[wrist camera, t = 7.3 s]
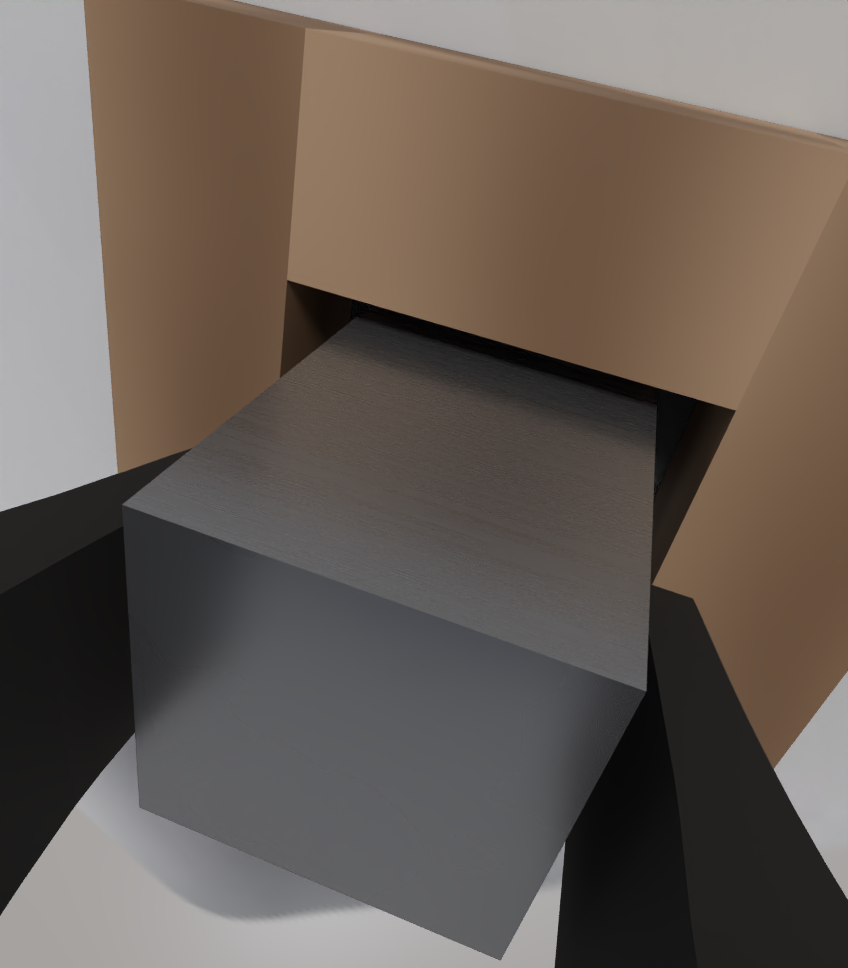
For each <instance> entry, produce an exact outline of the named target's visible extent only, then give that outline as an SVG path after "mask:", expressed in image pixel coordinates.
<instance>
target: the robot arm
mask: <svg viewBox="0 0 848 968" xmlns="http://www.w3.org/2000/svg"><path fill="white" fill-rule="evenodd" d="M191 449H192V448H191ZM191 449H188V450H185V451H182V452H179V453H176V454H173V455H170V456H167V457H164V458H161V459H158V460H155V461H153V462H150V463H147V464H144V465H141V466H138V467H136V468H133V469H130V470H127V471H124V472H121V473H118V474H115V475H113V476H110V477H107V478H104V479H101V480H98V481H95V482H92V483H89V484H86V485H83V486H81V487H78V488H75V489H72V490H69V491H66V492H63V493H60V494H57V495H54V496H51V497H47V498H44V499H41V500H38V501H34V502H31V503H28V504H24V505H21V506H18V507H15V508H11V509H8V510H5V511H1V512H0V915H1V914H2V912H3V910H4V909H5V908H6V906H7V904H8V903H9V901H10V900H11V898H12V897H13V895H14V894H15V892H16V891H17V889H18V888H19V886H20V885H21V883H22V882H23V880H24V879H25V877H26V876H27V875H28V873H29V872H30V870H31V869H32V867H33V866H34V864H35V863H36V862H37V860H38V859H39V857H40V856H41V854H42V853H43V851H44V850H45V849H46V847H47V846H48V844H49V843H50V841H51V840H52V838H53V837H54V836H55V834H56V833H57V831H58V830H59V828H60V827H61V825H62V824H63V822H64V821H65V820H66V818H67V817H68V815H69V814H70V812H71V811H72V810H73V808H74V807H75V805H76V804H77V803H78V801H79V800H80V799H81V798H82V796H83V795H84V794H85V792H86V791H87V790H88V789H89V787H90V786H91V785H92V783H93V782H94V781H95V780H96V778H97V777H98V776H99V774H100V773H101V772H102V771H103V769H104V768H105V767H106V766H107V765H108V764H109V762H110V761H111V760H112V759H113V758H114V756H115V755H116V754H117V753H118V752H119V750H120V749H121V748H122V747H123V746H124V744H125V743H126V742H127V741H128V740H129V739H130V737H131V736H132V735H133V734H134V733H135V719H134V702H133V685H132V667H131V650H130V633H129V615H128V598H127V581H126V563H125V546H124V529H123V511H122V504H123V503H125V502H126V501H127V500H128V499H130V498H131V497H132V496H133V495H135V494H136V493H137V492H138V491H140V490H141V489H142V488H143V487H145V486H146V485H147V484H148V483H150V482H151V481H152V480H153V479H155V478H156V477H157V476H158V475H160V474H161V473H162V472H163V471H165V470H166V469H167V468H168V467H170V466H171V465H172V464H173V463H175V462H176V461H177V460H178V459H180V458H181V457H182V456H183V455H185V454H186V453H187V452H188V451H190V450H191ZM556 948H557V949H556V958H555V968H848V899H847V898H846V897H845V895H844V893H843V891H842V890H841V888H840V886H839V885H838V883H837V882H836V880H835V878H834V877H833V875H832V873H831V872H830V870H829V868H828V867H827V865H826V863H825V862H824V860H823V858H822V856H821V855H820V853H819V851H818V849H817V848H816V846H815V844H814V842H813V840H812V839H811V837H810V835H809V833H808V832H807V830H806V828H805V826H804V825H803V823H802V821H801V819H800V818H799V816H798V814H797V812H796V811H795V809H794V807H793V805H792V803H791V801H790V800H789V798H788V796H787V794H786V792H785V790H784V788H783V786H782V785H781V783H780V781H779V779H778V777H777V775H776V773H775V771H774V769H773V767H772V765H771V763H770V761H769V759H768V757H767V755H766V753H765V751H764V749H763V747H762V745H761V743H760V741H759V739H758V737H757V735H756V733H755V731H754V729H753V727H752V725H751V723H750V721H749V719H748V717H747V715H746V713H745V711H744V709H743V707H742V705H741V703H740V701H739V698H738V696H737V694H736V692H735V690H734V688H733V685H732V683H731V681H730V679H729V677H728V675H727V672H726V670H725V668H724V666H723V664H722V661H721V659H720V657H719V655H718V652H717V650H716V648H715V646H714V643H713V641H712V639H711V637H710V634H709V632H708V630H707V627H706V625H705V623H704V621H703V618H702V616H701V614H700V612H699V610H698V608H697V606H696V604H695V601H694V599H693V598H690V597H687V596H684V595H681V594H678V593H675V592H672V591H669V590H666V589H663V588H660V587H657V586H654V585H651V584H650V606H649V633H648V660H647V687H646V693H645V695H644V697H643V699H642V700H641V702H640V704H639V706H638V708H637V710H636V711H635V713H634V715H633V717H632V719H631V721H630V723H629V724H628V726H627V728H626V730H625V732H624V734H623V735H622V737H621V739H620V741H619V743H618V745H617V747H616V748H615V750H614V752H613V754H612V756H611V758H610V759H609V761H608V763H607V765H606V767H605V769H604V770H603V772H602V774H601V776H600V778H599V780H598V782H597V783H596V785H595V787H594V789H593V791H592V793H591V794H590V796H589V798H588V800H587V802H586V804H585V806H584V807H583V809H582V811H581V813H580V815H579V817H578V818H577V820H576V822H575V824H574V826H573V828H572V830H571V831H570V833H569V835H568V837H567V839H566V841H565V853H564V865H563V876H562V888H561V900H560V912H559V923H558V935H557V947H556Z"/></svg>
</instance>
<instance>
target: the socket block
mask: <svg viewBox="0 0 848 968" xmlns="http://www.w3.org/2000/svg"><path fill="white" fill-rule="evenodd" d="M84 9H85V23H86V37H87V51H88V65H89V78H90V92H91V106H92V120H93V134H94V148H95V162H96V175H97V189H98V203H99V217H100V231H101V245H102V259H103V272H104V286H105V300H106V314H107V328H108V342H109V356H110V369H111V383H112V397H113V411H114V425H115V439H116V453H117V466H118V473H121V472H124V471H127V470H130V469H133V468H136V467H138V466H141V465H144V464H147V463H150V462H153V461H155V460H158V459H161V458H164V457H167V456H170V455H173V454H176V453H179V452H182V451H185V450H188V449H191V448H193V447H195V446H196V445H197V444H198V443H200V442H201V441H202V440H203V439H205V438H206V437H207V436H208V435H210V434H211V433H212V432H213V431H215V430H216V429H217V428H218V427H220V426H221V425H222V424H223V423H225V422H226V421H227V420H228V419H230V418H231V417H232V416H233V415H235V414H236V413H237V412H238V411H240V410H241V409H242V408H243V407H245V406H246V405H247V404H248V403H250V402H251V401H252V400H253V399H255V398H256V397H257V396H258V395H260V394H261V393H262V392H263V391H265V390H266V389H267V388H268V387H270V386H271V385H272V384H273V383H275V382H276V381H277V380H278V379H280V378H281V377H282V376H283V375H285V374H286V373H287V372H288V371H290V370H291V369H292V368H293V367H295V366H296V365H297V364H298V363H300V362H301V361H302V360H303V359H305V358H306V357H307V356H308V355H310V354H311V353H312V352H313V351H315V350H316V349H317V348H318V347H320V346H321V345H322V344H323V343H325V342H326V341H327V340H328V339H330V338H331V337H332V336H333V335H335V334H336V333H337V332H338V331H340V330H341V329H342V328H343V327H345V326H346V325H347V324H348V323H350V317H351V309H352V301H353V299H354V300H358V301H361V302H365V303H368V304H371V305H375V306H378V307H382V308H385V309H389V310H392V311H396V312H399V313H402V314H406V315H409V316H413V317H416V318H420V319H423V320H426V321H430V322H433V323H437V324H440V325H444V326H447V327H451V328H454V329H457V330H461V331H464V332H468V333H471V334H475V335H478V336H481V337H485V338H488V339H492V340H495V341H499V342H502V343H506V344H509V345H512V346H516V347H519V348H523V349H526V350H530V351H533V352H536V353H540V354H543V355H547V356H550V357H554V358H557V359H561V360H564V361H567V362H571V363H574V364H578V365H581V366H585V367H588V368H591V369H595V370H598V371H602V372H605V373H609V374H612V375H616V376H619V377H622V378H626V379H629V380H633V381H636V382H640V383H643V384H646V385H650V386H653V387H657V388H660V389H664V390H667V391H670V392H674V393H677V394H681V395H684V396H688V397H691V398H695V399H698V400H697V403H696V405H695V407H694V410H693V412H692V414H691V416H690V419H689V421H688V423H687V425H686V428H685V430H684V432H683V434H682V437H681V439H680V441H679V443H678V446H677V448H676V450H675V452H674V455H673V457H672V459H671V461H670V464H669V466H668V468H667V470H666V473H665V475H664V477H663V479H662V482H661V484H660V486H659V488H658V491H657V493H656V495H655V497H654V500H653V525H652V552H651V579H650V584H651V585H654V586H657V587H660V588H663V589H666V590H669V591H672V592H675V593H678V594H681V595H684V596H687V597H690V598H693V599H694V601H695V604H696V606H697V608H698V610H699V612H700V614H701V616H702V618H703V621H704V623H705V625H706V627H707V630H708V632H709V634H710V637H711V639H712V641H713V643H714V646H715V648H716V650H717V652H718V655H719V657H720V659H721V661H722V664H723V666H724V668H725V670H726V672H727V675H728V677H729V679H730V681H731V683H732V685H733V688H734V690H735V692H736V694H737V696H738V698H739V701H740V703H741V705H742V707H743V709H744V711H745V713H746V715H747V717H748V719H749V721H750V723H751V725H752V727H753V729H754V731H755V733H756V735H757V737H758V739H759V741H760V743H761V745H762V747H763V749H764V751H765V753H766V755H767V757H768V759H769V761H770V763H771V765H772V767H773V769H774V768H775V766H776V765H777V764H778V762H779V761H780V760H781V758H782V757H783V756H784V754H785V753H786V752H787V750H788V749H789V748H790V746H791V745H792V744H793V742H794V741H795V740H796V738H797V737H798V736H799V734H800V733H801V732H802V731H803V729H804V728H805V727H806V725H807V724H808V723H809V721H810V720H811V719H812V717H813V716H814V715H815V713H816V712H817V711H818V709H819V708H820V707H821V705H822V704H823V703H824V701H825V700H826V699H827V697H828V696H829V695H830V693H831V692H832V691H833V690H834V688H835V687H836V686H837V684H838V683H839V682H840V680H841V679H842V678H843V676H844V675H845V674H846V672H847V671H848V140H845V139H840V138H836V137H831V136H827V135H823V134H818V133H814V132H809V131H805V130H801V129H796V128H792V127H787V126H783V125H779V124H774V123H770V122H765V121H761V120H757V119H752V118H748V117H744V116H739V115H735V114H730V113H726V112H722V111H717V110H713V109H708V108H704V107H700V106H695V105H691V104H686V103H682V102H678V101H673V100H669V99H664V98H660V97H656V96H651V95H647V94H642V93H638V92H634V91H629V90H625V89H620V88H616V87H612V86H607V85H603V84H598V83H594V82H590V81H585V80H581V79H576V78H572V77H568V76H563V75H559V74H554V73H550V72H546V71H541V70H537V69H532V68H528V67H524V66H519V65H515V64H510V63H506V62H502V61H497V60H493V59H488V58H484V57H480V56H475V55H471V54H466V53H462V52H458V51H453V50H449V49H444V48H440V47H436V46H431V45H427V44H422V43H418V42H414V41H409V40H405V39H400V38H396V37H392V36H387V35H383V34H378V33H374V32H370V31H365V30H361V29H356V28H352V27H348V26H343V25H339V24H334V23H330V22H326V21H321V20H317V19H312V18H308V17H304V16H299V15H295V14H291V13H286V12H282V11H277V10H273V9H269V8H264V7H260V6H255V5H251V4H247V3H242V2H238V1H233V0H84Z"/></svg>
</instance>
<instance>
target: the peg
mask: <svg viewBox="0 0 848 968" xmlns="http://www.w3.org/2000/svg"><path fill="white" fill-rule="evenodd" d="M657 390H658V388H657V387H653V386H650V385H646V384H643V383H640V382H636V381H633V380H629V379H626V378H622V377H619V376H616V375H612V374H609V373H605V372H602V371H598V370H595V369H591V368H588V367H585V366H581V365H578V364H574V363H571V362H567V361H564V360H561V359H557V358H554V357H550V356H547V355H543V354H540V353H536V352H533V351H530V350H526V349H523V348H519V347H516V346H512V345H509V344H506V343H502V342H499V341H495V340H492V339H488V338H485V337H481V336H478V335H475V334H471V333H468V332H464V331H461V330H457V329H454V328H451V327H447V326H444V325H440V324H437V323H433V322H430V321H426V320H423V319H420V318H416V317H413V316H409V315H406V314H402V313H399V312H396V311H392V310H389V309H385V308H382V307H378V306H375V305H371V306H370V307H368V308H367V309H366V310H365V311H363V312H362V313H361V314H360V315H358V316H357V317H356V318H355V319H353V320H352V321H351V322H350V323H348V324H347V325H346V326H345V327H343V328H342V329H341V330H340V331H338V332H337V333H336V334H335V335H333V336H332V337H331V338H330V339H328V340H327V341H326V342H325V343H323V344H322V345H321V346H320V347H318V348H317V349H316V350H315V351H313V352H312V353H311V354H310V355H308V356H307V357H306V358H305V359H303V360H302V361H301V362H300V363H298V364H297V365H296V366H295V367H293V368H292V369H291V370H290V371H288V372H287V373H286V374H285V375H283V376H282V377H281V378H280V379H278V380H277V381H276V382H275V383H273V384H272V385H271V386H270V387H268V388H267V389H266V390H265V391H263V392H262V393H261V394H260V395H258V396H257V397H256V398H255V399H253V400H252V401H251V402H250V403H248V404H247V405H246V406H245V407H243V408H242V409H241V410H240V411H238V412H237V413H236V414H235V415H233V416H232V417H231V418H230V419H228V420H227V421H226V422H225V423H223V424H222V425H221V426H220V427H218V428H217V429H216V430H215V431H213V432H212V433H211V434H210V435H208V436H207V437H206V438H205V439H203V440H202V441H201V442H200V443H198V444H197V445H196V446H195V447H193V448H192V449H191V450H190V451H188V452H187V453H186V454H185V455H183V456H182V457H181V458H180V459H178V460H177V461H176V462H175V463H173V464H172V465H171V466H170V467H168V468H167V469H166V470H165V471H163V472H162V473H161V474H160V475H158V476H157V477H156V478H155V479H153V480H152V481H151V482H150V483H148V484H147V485H146V486H145V487H143V488H142V489H141V490H140V491H138V492H137V493H136V494H135V495H133V496H132V497H131V498H130V499H128V500H127V501H126V502H125V503H123V504H122V511H123V529H124V546H125V563H126V581H127V598H128V615H129V633H130V650H131V667H132V685H133V702H134V719H135V737H136V754H137V771H138V789H139V806H140V808H142V809H145V810H147V811H149V812H152V813H154V814H156V815H159V816H161V817H164V818H166V819H168V820H171V821H173V822H175V823H178V824H180V825H182V826H185V827H187V828H189V829H192V830H194V831H197V832H199V833H201V834H204V835H206V836H208V837H211V838H213V839H215V840H218V841H220V842H222V843H225V844H227V845H229V846H232V847H234V848H237V849H239V850H241V851H244V852H246V853H248V854H251V855H253V856H255V857H258V858H260V859H262V860H265V861H267V862H270V863H272V864H274V865H277V866H279V867H281V868H284V869H286V870H288V871H291V872H293V873H295V874H298V875H300V876H303V877H305V878H307V879H310V880H312V881H314V882H317V883H319V884H321V885H324V886H326V887H328V888H331V889H333V890H336V891H338V892H340V893H343V894H345V895H347V896H350V897H352V898H354V899H357V900H359V901H361V902H364V903H366V904H368V905H371V906H373V907H376V908H378V909H380V910H383V911H385V912H388V913H390V914H392V915H394V916H397V917H399V918H402V919H404V920H406V921H409V922H411V923H413V924H416V925H418V926H420V927H423V928H425V929H427V930H430V931H432V932H434V933H437V934H440V935H442V936H444V937H447V938H449V939H451V940H453V941H456V942H458V943H460V944H463V945H465V946H468V947H470V948H472V949H475V950H477V951H479V952H482V953H484V954H486V955H489V956H491V957H494V958H496V959H498V960H501V959H502V957H503V955H504V953H505V951H506V949H507V947H508V946H509V944H510V942H511V940H512V938H513V936H514V935H515V933H516V931H517V929H518V927H519V925H520V924H521V922H522V920H523V918H524V916H525V914H526V912H527V911H528V909H529V907H530V905H531V903H532V901H533V900H534V898H535V896H536V894H537V892H538V890H539V889H540V887H541V885H542V883H543V881H544V879H545V877H546V876H547V874H548V872H549V870H550V868H551V866H552V865H553V863H554V861H555V859H556V857H557V855H558V853H559V852H560V850H561V848H562V846H563V844H564V842H565V841H566V839H567V837H568V835H569V833H570V831H571V830H572V828H573V826H574V824H575V822H576V820H577V818H578V817H579V815H580V813H581V811H582V809H583V807H584V806H585V804H586V802H587V800H588V798H589V796H590V794H591V793H592V791H593V789H594V787H595V785H596V783H597V782H598V780H599V778H600V776H601V774H602V772H603V770H604V769H605V767H606V765H607V763H608V761H609V759H610V758H611V756H612V754H613V752H614V750H615V748H616V747H617V745H618V743H619V741H620V739H621V737H622V735H623V734H624V732H625V730H626V728H627V726H628V724H629V723H630V721H631V719H632V717H633V715H634V713H635V711H636V710H637V708H638V706H639V704H640V702H641V700H642V699H643V697H644V695H645V693H646V687H647V660H648V633H649V606H650V579H651V552H652V525H653V498H654V471H655V444H656V417H657Z"/></svg>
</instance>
